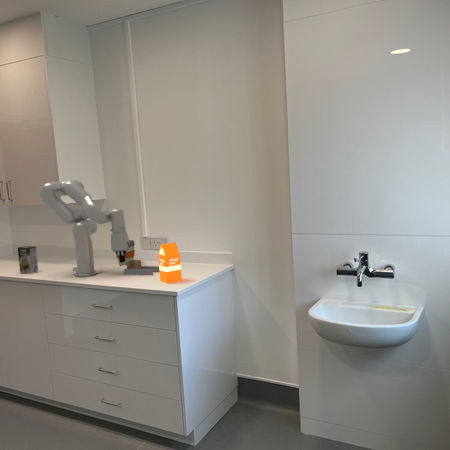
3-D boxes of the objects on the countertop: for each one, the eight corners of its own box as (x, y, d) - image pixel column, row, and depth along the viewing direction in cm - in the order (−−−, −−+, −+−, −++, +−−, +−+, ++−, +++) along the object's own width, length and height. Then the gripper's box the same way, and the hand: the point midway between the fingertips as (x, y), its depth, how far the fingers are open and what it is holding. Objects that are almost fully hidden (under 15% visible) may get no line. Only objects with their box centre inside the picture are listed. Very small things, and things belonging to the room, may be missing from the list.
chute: (124, 275, 265) (123, 269, 265) (132, 272, 274) (132, 265, 273) (152, 276, 259) (151, 269, 258) (160, 273, 267) (159, 266, 267)
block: (127, 273, 266) (126, 261, 265) (132, 271, 272) (131, 259, 271) (136, 274, 264) (135, 262, 263) (141, 271, 270) (140, 259, 269)
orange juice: (181, 280, 246) (179, 243, 244) (167, 283, 241) (164, 245, 239) (174, 278, 253) (172, 241, 250) (160, 281, 248) (157, 243, 245)
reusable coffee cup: (139, 262, 303) (137, 239, 302) (131, 266, 291) (130, 242, 289) (120, 263, 306) (119, 240, 304) (112, 267, 293) (111, 243, 292)
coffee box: (19, 273, 289) (17, 247, 287) (27, 271, 295) (24, 245, 293) (31, 273, 285) (28, 247, 284) (38, 271, 291) (36, 245, 290)
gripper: (104, 232, 267) (107, 263, 269) (126, 230, 262) (130, 263, 264) (111, 230, 274) (115, 261, 276) (133, 229, 269) (137, 260, 271)
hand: (122, 261), depth 270 cm, fingers closed
